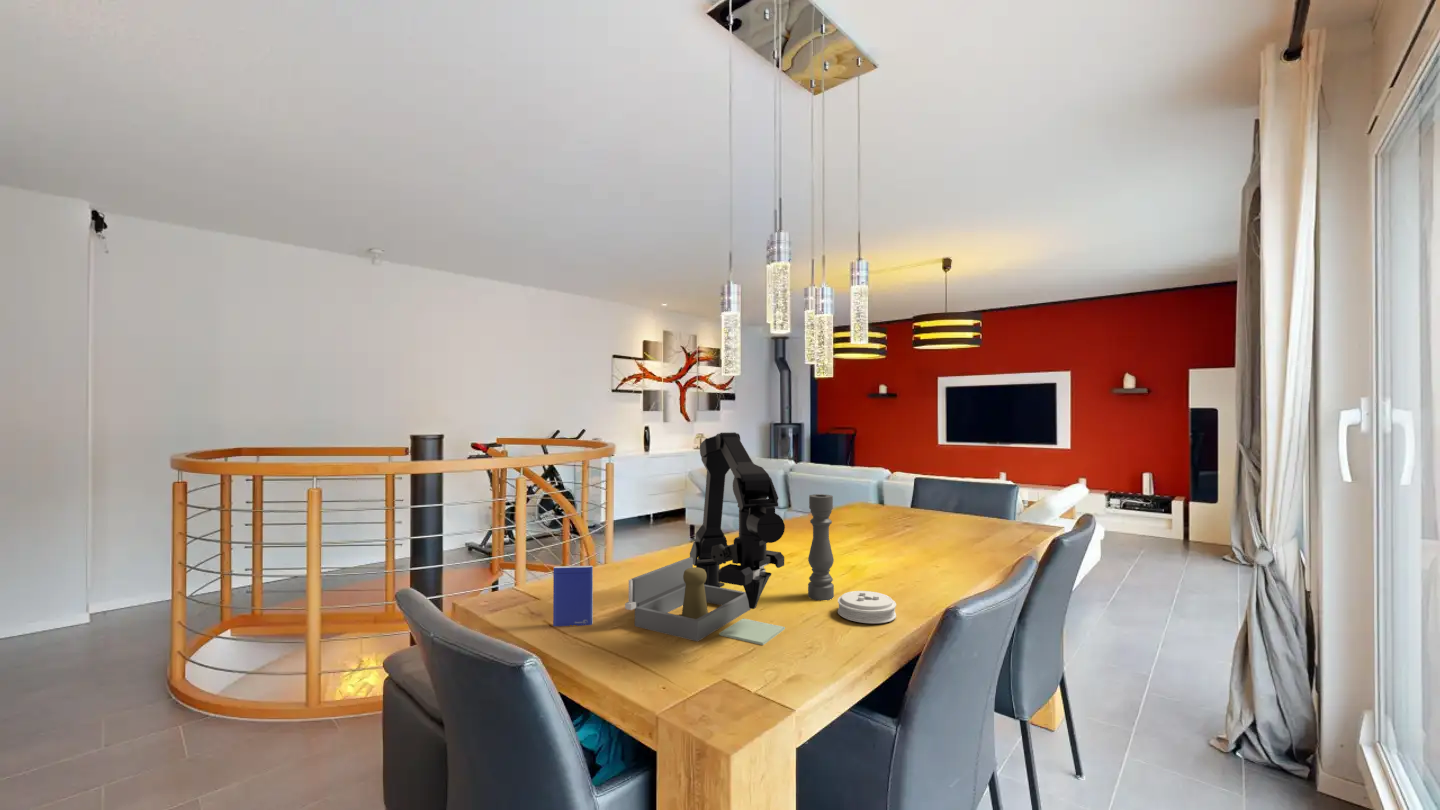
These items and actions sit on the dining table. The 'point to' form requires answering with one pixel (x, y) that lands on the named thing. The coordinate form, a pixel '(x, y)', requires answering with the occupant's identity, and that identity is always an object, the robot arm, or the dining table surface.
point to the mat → (752, 631)
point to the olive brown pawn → (694, 593)
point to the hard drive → (572, 595)
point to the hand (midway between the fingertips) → (752, 608)
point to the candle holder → (820, 548)
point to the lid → (866, 607)
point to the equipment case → (680, 603)
